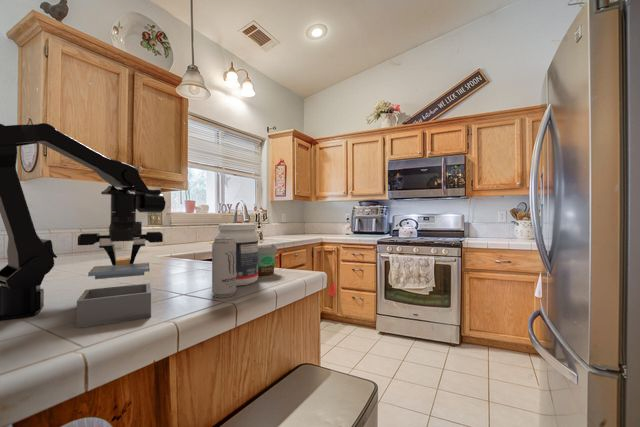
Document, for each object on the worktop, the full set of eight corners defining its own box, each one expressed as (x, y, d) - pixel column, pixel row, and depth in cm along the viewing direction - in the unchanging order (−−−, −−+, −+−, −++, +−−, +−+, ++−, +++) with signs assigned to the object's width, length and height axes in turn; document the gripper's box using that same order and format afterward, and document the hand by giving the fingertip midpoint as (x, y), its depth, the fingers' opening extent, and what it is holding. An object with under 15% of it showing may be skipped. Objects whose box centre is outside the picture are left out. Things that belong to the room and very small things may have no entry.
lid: (88, 280, 67) (88, 267, 67) (96, 271, 79) (96, 259, 79) (149, 275, 73) (149, 263, 73) (148, 267, 85) (148, 256, 85)
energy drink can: (226, 298, 75) (226, 239, 75) (206, 296, 77) (207, 238, 77) (240, 293, 81) (240, 237, 81) (222, 291, 83) (222, 236, 83)
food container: (258, 278, 99) (258, 248, 99) (246, 276, 103) (246, 247, 103) (284, 273, 109) (284, 245, 109) (272, 271, 112) (272, 244, 112)
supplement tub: (206, 283, 92) (206, 223, 92) (239, 276, 102) (239, 223, 103) (234, 289, 85) (234, 224, 85) (266, 281, 95) (266, 223, 95)
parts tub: (76, 328, 55) (76, 301, 55) (85, 313, 64) (85, 289, 64) (151, 317, 61) (151, 292, 62) (150, 304, 70) (150, 283, 70)
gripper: (73, 211, 69) (72, 279, 69) (164, 212, 79) (163, 271, 79) (81, 212, 79) (81, 271, 79) (161, 212, 88) (161, 265, 88)
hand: (123, 270), depth 81 cm, fingers closed on lid, 3 cm apart
